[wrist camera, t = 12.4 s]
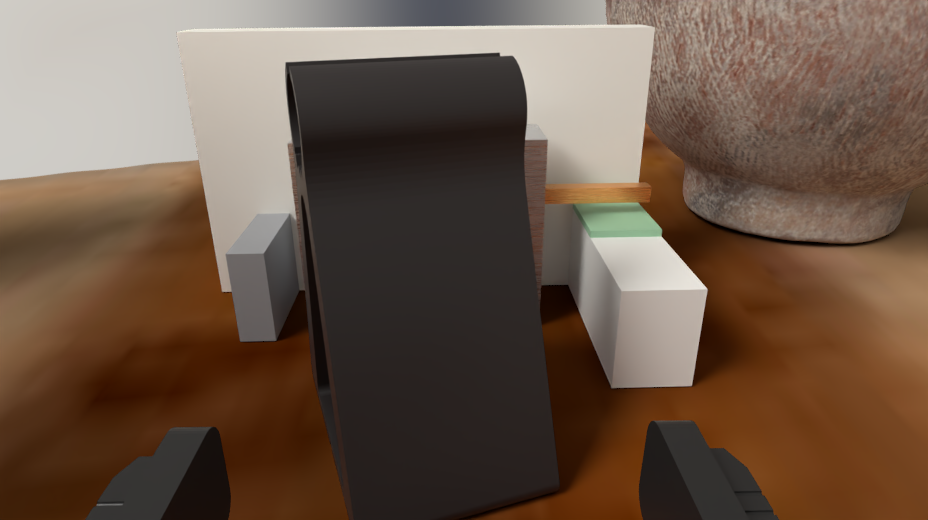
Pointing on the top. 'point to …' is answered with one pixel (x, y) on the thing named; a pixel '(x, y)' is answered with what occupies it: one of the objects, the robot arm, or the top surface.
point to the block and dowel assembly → (539, 192)
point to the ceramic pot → (791, 110)
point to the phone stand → (422, 282)
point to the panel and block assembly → (548, 105)
